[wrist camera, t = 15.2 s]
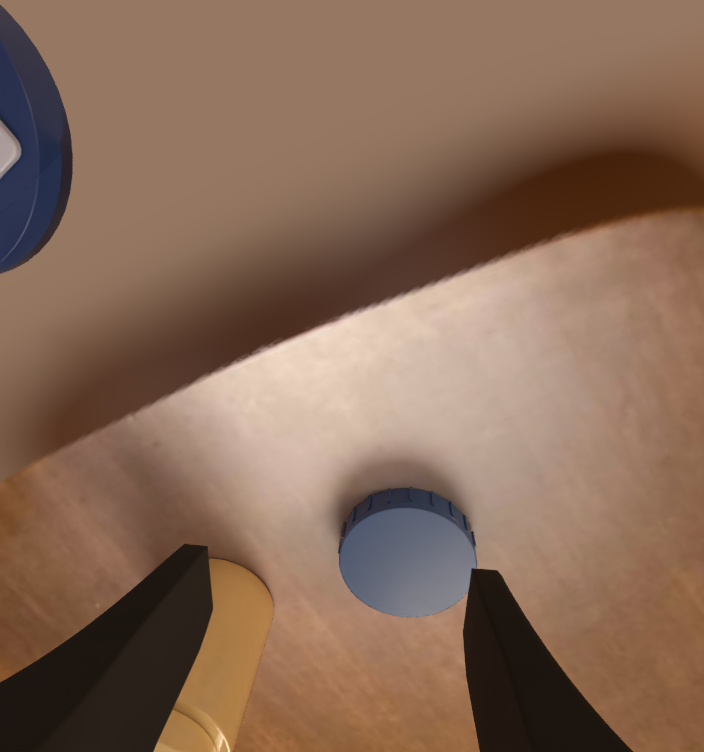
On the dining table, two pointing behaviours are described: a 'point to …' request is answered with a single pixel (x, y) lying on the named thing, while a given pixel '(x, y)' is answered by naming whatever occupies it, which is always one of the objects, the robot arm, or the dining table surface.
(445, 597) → the lid
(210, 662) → the jar
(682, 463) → the dining table surface
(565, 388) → the dining table surface
